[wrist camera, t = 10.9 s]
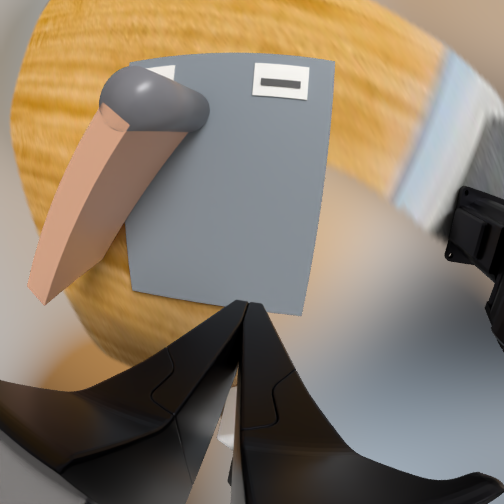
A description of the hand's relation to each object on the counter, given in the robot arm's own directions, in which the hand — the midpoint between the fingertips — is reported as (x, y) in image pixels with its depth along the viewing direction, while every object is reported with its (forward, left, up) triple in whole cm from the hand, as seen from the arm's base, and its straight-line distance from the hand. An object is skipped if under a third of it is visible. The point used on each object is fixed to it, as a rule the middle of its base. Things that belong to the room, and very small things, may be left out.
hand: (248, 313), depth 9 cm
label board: (+4, -2, -13) cm, 14 cm away
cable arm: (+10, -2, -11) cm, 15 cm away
